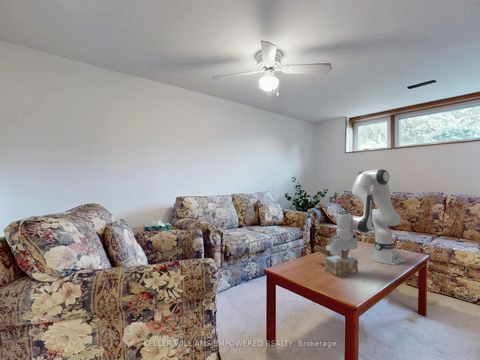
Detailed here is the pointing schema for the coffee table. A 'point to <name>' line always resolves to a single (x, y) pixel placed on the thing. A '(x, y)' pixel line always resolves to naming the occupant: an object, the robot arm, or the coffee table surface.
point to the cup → (334, 253)
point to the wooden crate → (341, 267)
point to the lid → (342, 258)
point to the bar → (322, 250)
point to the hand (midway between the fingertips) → (343, 255)
